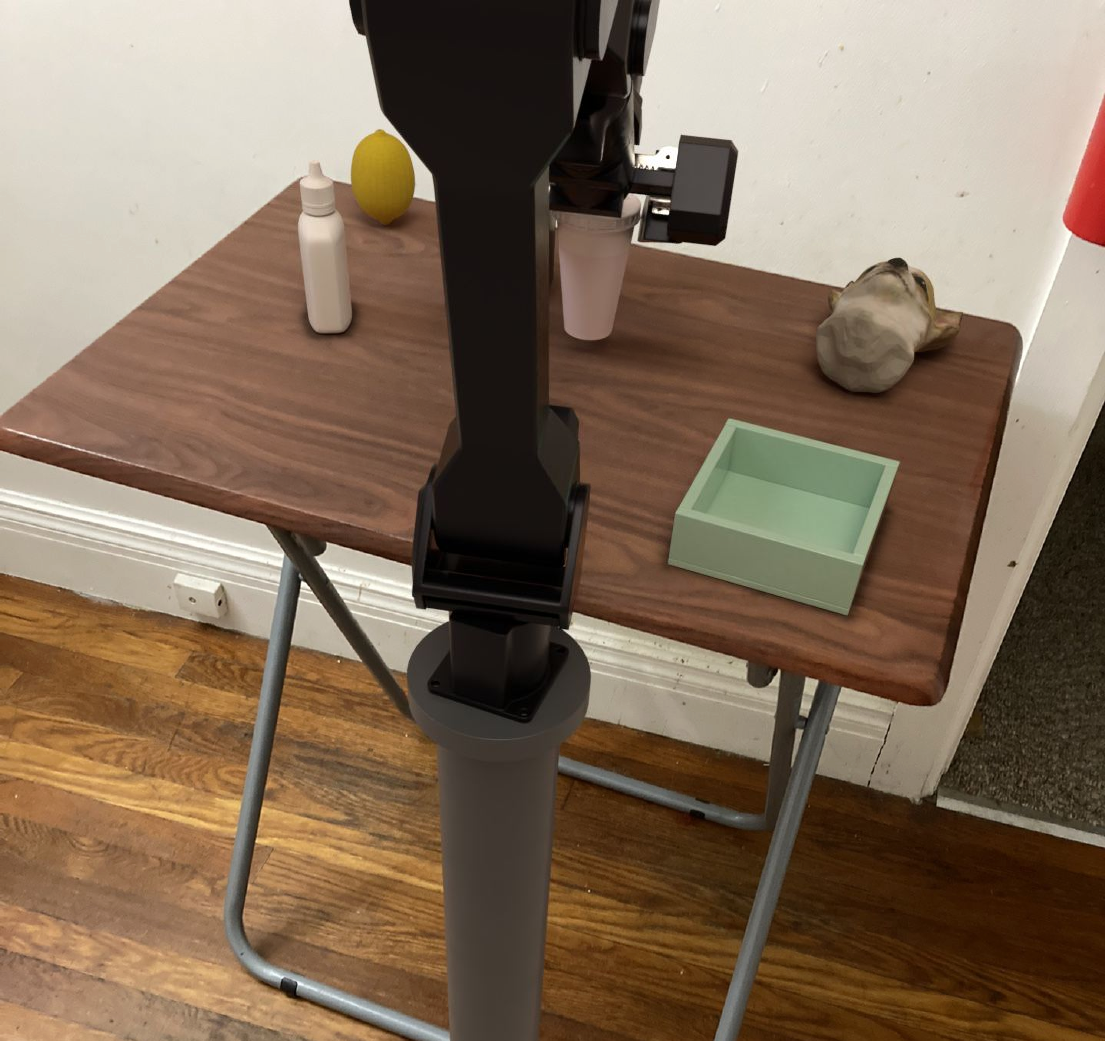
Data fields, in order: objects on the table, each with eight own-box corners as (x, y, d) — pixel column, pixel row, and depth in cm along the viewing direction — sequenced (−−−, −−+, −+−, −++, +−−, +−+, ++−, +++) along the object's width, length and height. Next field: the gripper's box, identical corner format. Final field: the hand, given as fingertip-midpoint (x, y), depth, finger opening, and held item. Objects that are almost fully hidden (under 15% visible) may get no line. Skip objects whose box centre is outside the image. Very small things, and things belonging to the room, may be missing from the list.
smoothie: (533, 337, 89) (541, 143, 78) (564, 301, 93) (575, 113, 82) (612, 356, 87) (630, 161, 77) (640, 319, 91) (661, 129, 81)
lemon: (382, 205, 107) (377, 112, 101) (429, 223, 105) (426, 129, 99) (341, 225, 104) (333, 130, 98) (388, 244, 102) (382, 148, 96)
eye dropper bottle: (371, 308, 94) (359, 153, 85) (337, 340, 90) (321, 182, 81) (324, 297, 95) (307, 142, 86) (288, 328, 91) (267, 170, 82)
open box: (847, 616, 71) (863, 564, 68) (667, 564, 74) (675, 512, 71) (884, 511, 78) (900, 461, 75) (719, 468, 81) (728, 417, 78)
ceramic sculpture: (799, 270, 82) (862, 208, 92) (773, 383, 88) (835, 313, 98) (946, 312, 79) (995, 243, 89) (908, 426, 85) (958, 349, 95)
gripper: (761, 4, 69) (740, 133, 85) (453, -27, 71) (488, 106, 86) (733, 192, 70) (717, 287, 85) (427, 158, 71) (467, 257, 87)
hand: (597, 230), depth 86 cm, fingers closed on smoothie, 6 cm apart
